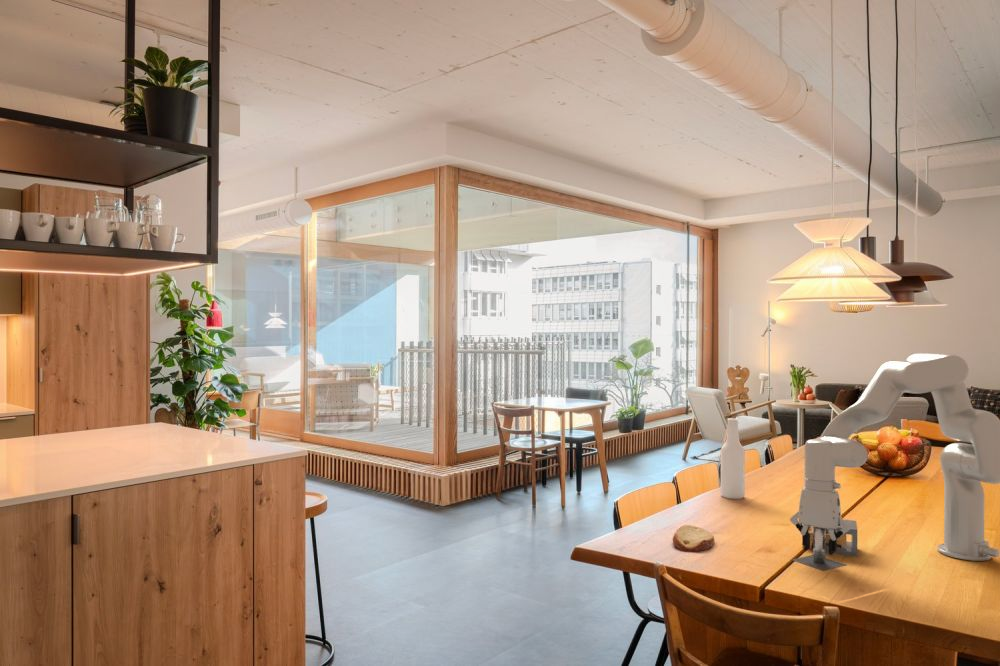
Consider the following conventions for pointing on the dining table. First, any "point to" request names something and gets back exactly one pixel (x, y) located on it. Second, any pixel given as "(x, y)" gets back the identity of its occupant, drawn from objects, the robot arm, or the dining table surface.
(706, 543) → the slice of bread
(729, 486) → the alcohol
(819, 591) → the dining table surface
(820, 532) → the pin
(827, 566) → the mat
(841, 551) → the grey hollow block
